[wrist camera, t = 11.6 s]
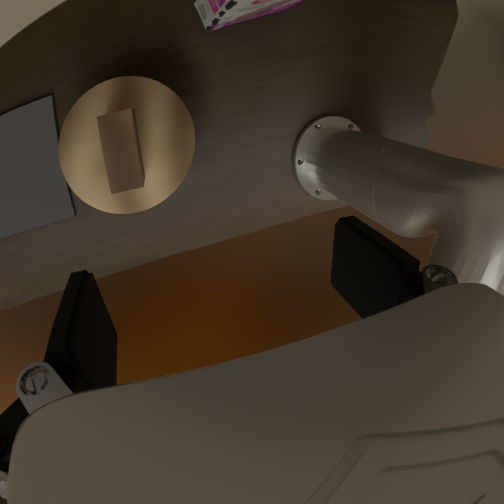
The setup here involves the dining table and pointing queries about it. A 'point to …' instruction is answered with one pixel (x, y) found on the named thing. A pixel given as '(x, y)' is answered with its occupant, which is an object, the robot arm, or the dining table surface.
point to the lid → (126, 144)
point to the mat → (31, 169)
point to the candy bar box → (237, 10)
